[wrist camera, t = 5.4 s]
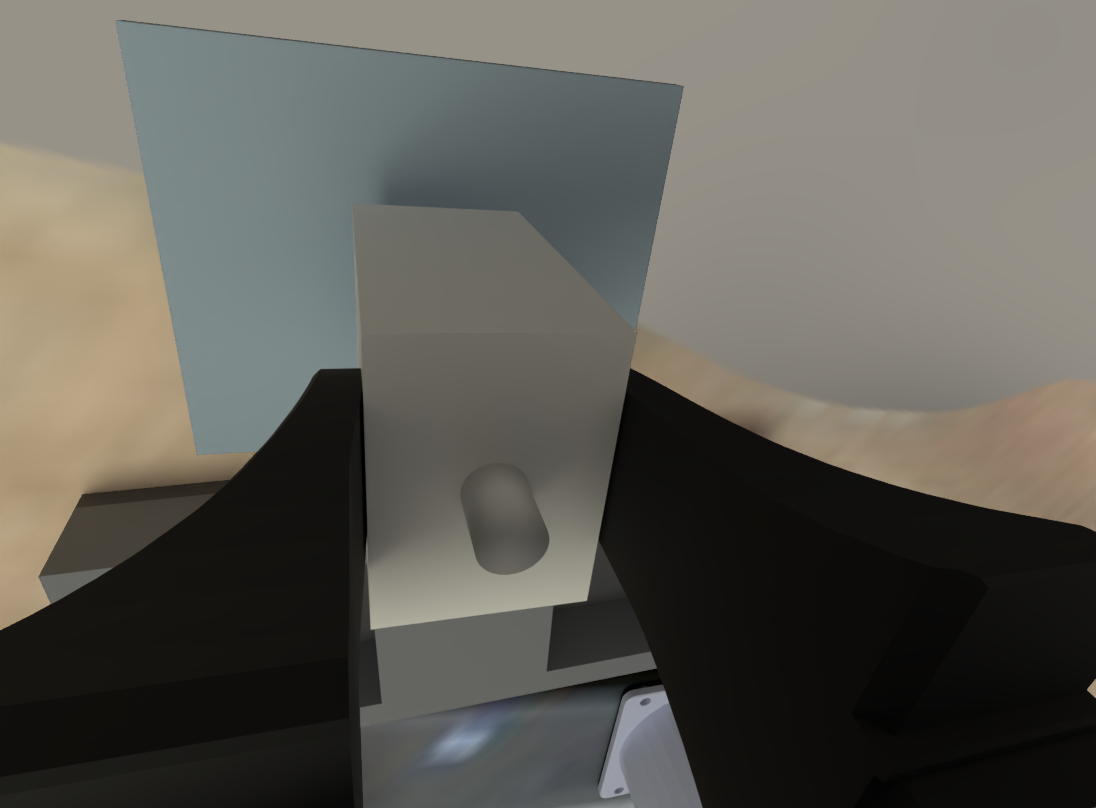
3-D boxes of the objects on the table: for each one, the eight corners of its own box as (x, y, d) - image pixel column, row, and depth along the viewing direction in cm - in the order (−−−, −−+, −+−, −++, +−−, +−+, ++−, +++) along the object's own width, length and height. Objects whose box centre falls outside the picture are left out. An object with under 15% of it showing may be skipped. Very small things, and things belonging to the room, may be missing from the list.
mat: (674, 83, 16) (683, 86, 16) (610, 423, 21) (615, 432, 21) (122, 20, 13) (115, 20, 12) (200, 444, 18) (196, 455, 17)
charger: (518, 211, 15) (675, 371, 8) (501, 404, 17) (611, 657, 10) (352, 202, 14) (365, 379, 7) (359, 410, 16) (373, 695, 9)
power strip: (730, 423, 23) (797, 494, 20) (690, 584, 27) (740, 666, 24) (87, 485, 18) (28, 596, 14) (156, 672, 22) (122, 794, 18)
